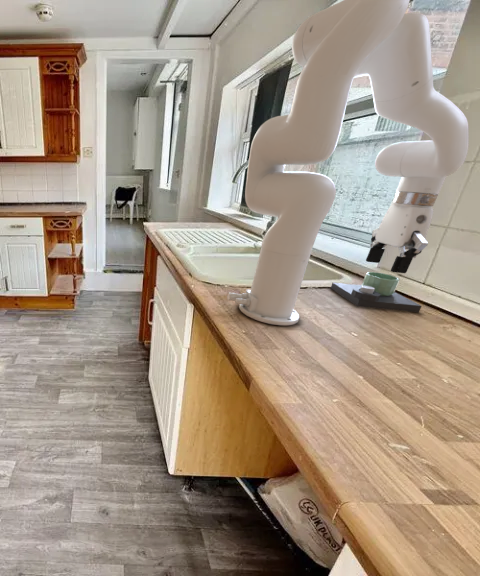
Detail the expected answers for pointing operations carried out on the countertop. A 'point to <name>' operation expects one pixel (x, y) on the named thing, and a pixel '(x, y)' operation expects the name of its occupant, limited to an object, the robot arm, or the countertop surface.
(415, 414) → the countertop surface
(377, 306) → the scale
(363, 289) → the tare button
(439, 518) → the countertop surface
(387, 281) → the bowl
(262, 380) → the countertop surface
